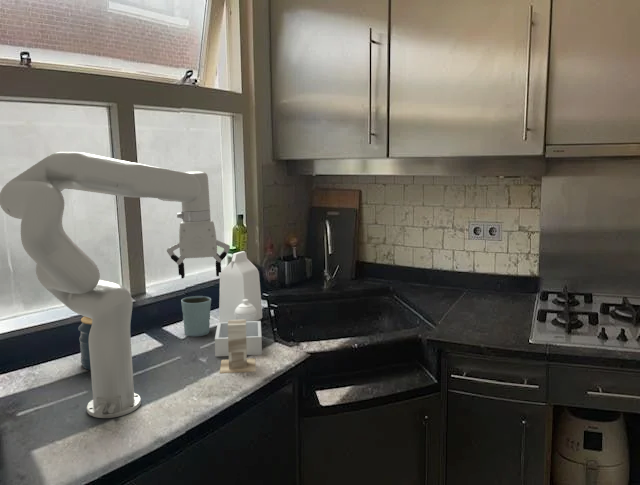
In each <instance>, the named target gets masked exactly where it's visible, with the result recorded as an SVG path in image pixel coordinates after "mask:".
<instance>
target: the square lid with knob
mask: <svg viewBox="0 0 640 485" xmlns="http://www.w3.org/2000/svg"><path fill="white" fill-rule="evenodd" d="M256 368H257V366H256V357H254V358H253V357H252V358H250V357H249V358H248V357H247V368H244V369H229V358H228V359H221V361H220V368H219V374H233V373H235V374H236V373H237V374H238V373H251V372H252V373H253V372H254V373H256V371H257V370H256Z"/></svg>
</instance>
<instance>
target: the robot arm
mask: <svg viewBox="0 0 640 485" xmlns="http://www.w3.org/2000/svg"><path fill="white" fill-rule="evenodd" d="M208 176H209V175H208V174H207V173H206V172H205V171H186V172H185V171H181V170H177V169H176V170H174V169H170V168H164V167H159V166H152V165H148V164H143V163H138V162H131V161H127V160H122V159H116V158H112V157H106V156H102V155H97V154H92V153H87V152H80V151H59V152H58V151H57V152H55V153H54V152H53V153H52V154H49V155H48V156H46V157H44V158H42V159H41V160H39V161H37V162H36V163H35V164H33V165H32V166H30V167H29V168H27V169H26V170H25V171H23V172H21V173H20V174H18V175H17V176H16V177H13V178H12V179H11V180H9V181H8V182H7V183H5V185H4V186H3V187H2V188H1V190H0V208H1V210H2V211H3V212H4V213H5V214H7V215H8V216H9V217H12V218H15V219H18V220H21V222H20V240H21V245H22V247H23V249H24V251H25V252H26V253H27V255H28V256H29V257H30V258H31V259H32V260H33V261H34V262H35V263H36V266H35V274H36V277H37V279H38V281H39V283H40V284H41V286H43V287H44V288H45V289H46V290H47V291H48V292H49V293H50V294H52V295H53V296H54V297H55V298H56V299H57V300H58V301H60V303H62V304H63V305H65V307H67V308H68V309H69V310H71V311H72V312H73V313H75V314H78V315H80V316H83V317H84V316H86V317H89V318H91V319H92V326H91V329H90V333H89V352H90V365H91V370H90V375H91V376H90V378H91V389H92V390H91V391H92V399H91V400H90V401H89V402H88V403H87V405H86V412H87V414H88V415H89V416H91V417H93V418H98V419H112V418H113V419H114V418H117V417H118V418H119V417H123V416H126V415H129V414H131V413H133V412H134V411H136V410H137V409H138V408H140V406H141V404H142V397H141V396H140V395H139V394H138V393H136V392H135V388H134V387H135V386H134V371H133V368H134V367H133V357H132V356H133V352H132V342H131V338H132V337H131V320H132V313H133V312H132V311H133V298H132V295H131V293H130V291H129V290H128V289H127V288H126V287H125V286H123V285H122V284H119V283H116V282H112V281H108V280H105V279H104V280H103V279H101V274H100V269H99V268H98V265H97V264H96V263H95V261H94V260H93V259H92V258H91V257H90V256H88V255H87V253H85V252H84V251H83V250H82V249H81V248H80V247H79V246H78V245H77V244H76V243H75V242H74V241H73V240H72V239H71V238H70V237H69V235H68V234H67V233H66V232H65V230H64V227H63V226H64V225H63V217H64V216H63V215H64V211H65V198H64V194H63V193H62V191H63V190H76V191H81V192H82V191H83V192H89V193H97V194H105V195H111V196H118V197H126V198H142V199H143V198H147V199H149V198H150V199H157V200H160V201H163V202H176V203H177V202H178V203H181V212H177V213H176V215H177V216H176V218H177V219H182V221H180V223H179V228H178V229H179V230H178V232H179V234H178V236H179V237H178V239H179V241H178V242H177V243H175V244H173V245H171V246H170V247H167V249H166V252H167V254H168V256H169V257H170V259H171V260H172V261H173V262H175V263H176V264H177V268H178V275H179V276H181V278H180V279H184V278H185V276H186V275H185V273H186V272H185V263H184V261H185V259H199V258H201V259H202V258H203V259H204V258H213V259H214V260H215V275H216V277H220V274H221V272H222V261H223V260H224V259H225V257H226V256H228V253H229V251H230V248H231V246H230V245H229V244H227V243H225V242H222V241H220V240H219V239H217V234H216V228H215V227H216V226H215V222H214V220H213V219H211V205H210V202H211V201H210V190H209V186H210V185H209V177H208ZM218 247H220V248H222V249H223V251H222V252H221V253H220V254H219V253H218ZM177 249H179V255H180V256H178V255H176V254H175V252H174V251H175V250H177Z"/></svg>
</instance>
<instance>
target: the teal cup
mask: <svg viewBox="0 0 640 485" xmlns="http://www.w3.org/2000/svg"><path fill="white" fill-rule="evenodd" d="M180 301H181V302H180V303H181V311H182V320H183V328H184V334H185V336H188V337H202V336H206V335H208V334H209V333H210V329H211V328H210V324H211V323H210V322H211V321H210V320H211V307H212V306H211V304H212V298H211V297H209V296H205V295H204V296H203V295H195V296H194V295H193V296H187V297H186V296H185V297H184V298H182V299H181V300H180Z"/></svg>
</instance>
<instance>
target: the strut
mask: <svg viewBox="0 0 640 485" xmlns="http://www.w3.org/2000/svg"><path fill="white" fill-rule="evenodd" d="M228 350H229V356H228V359H229V369H244V368H247V359H248V355H247V344H246V319H240V320H228Z"/></svg>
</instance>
